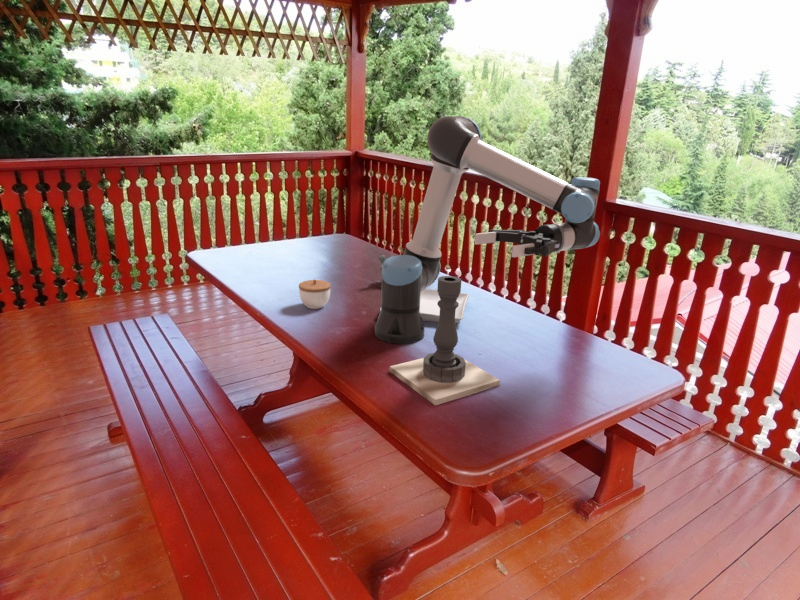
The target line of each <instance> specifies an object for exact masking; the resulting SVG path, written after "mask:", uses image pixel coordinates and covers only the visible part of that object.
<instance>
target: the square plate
mask: <svg viewBox="0 0 800 600" xmlns="http://www.w3.org/2000/svg"><path fill="white" fill-rule="evenodd" d="M469 298H470V294H469V293H464V292H463V293H462V292H460V294H459V297H458V298H457V300H456V301H457V302H458V303H459V305H458V307H457V308H456V310H455V324H456V323H459V322H460V321H462V320H463V319H464V315H465V311H466V310H465V309H466V305H467V304H468V303H467V302H468V301H469ZM439 300H441V299H440V297H439V295H438V292H437V289H431V288H425V289H424V290H423V291H422V292H421V294H420V314H421V317H422V321H425V322H426V321H428V322H435V323H438V322H439V316H440V308H439V306H438V304H437V303H438V301H439ZM380 311H381V307H380V309H379V312H380Z"/></svg>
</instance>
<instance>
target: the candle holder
mask: <svg viewBox="0 0 800 600" xmlns="http://www.w3.org/2000/svg"><path fill="white" fill-rule="evenodd" d="M461 289H462V278H461V277H458V276H452V275H443V276H438V277H437V289H436V290H437V292H438V295H439V297H440V299H441V300H439V301H438V303H437V304H438V306H439V308H440V316H439V322H437V325H436V329H435V331H434V335H433V343H434V345H435V346H436V347H435V348H436V351H435V352H433V353H434V355H433V357H434V358H433V359H432V364H433V365H434V366H438V367H442V368H452V367H456V360H455V358H456V355H455V354H456V353H455V352H454V351H455V348H456V346H457V345H458V342H459V336H458V329H457V325H456V323H455V310H456V308H457V307H458V305H459V303H458V302H457V301H456V300H457V298H458V297H459V294H460V293H462V292H461V291H462V290H461ZM454 353H455V354H454Z"/></svg>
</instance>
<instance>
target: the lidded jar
mask: <svg viewBox="0 0 800 600" xmlns="http://www.w3.org/2000/svg"><path fill="white" fill-rule="evenodd" d="M331 287H332V285H331V283H330V282H328V281H327V280H321V279H310V280H309V279H308V280H303V281H301V282H300V283H299V284H298V288H299V289H298V290H299V291H298V293H299V297H300V300H301V302H302V303H303V304H304V305H305V306H306V308H308V309H311V310H318V309H323V308H324V307H325V305H326V304H327V303H328V302H329V299H330V297H331Z"/></svg>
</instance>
